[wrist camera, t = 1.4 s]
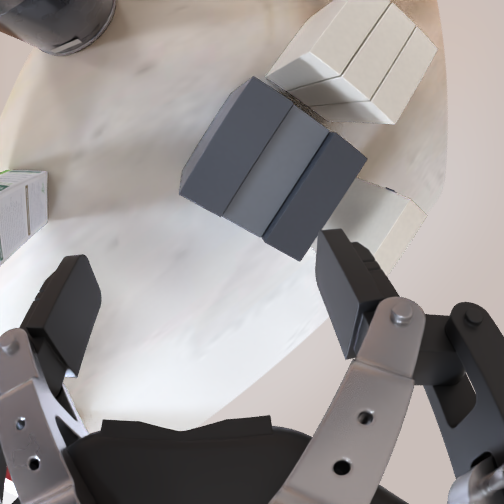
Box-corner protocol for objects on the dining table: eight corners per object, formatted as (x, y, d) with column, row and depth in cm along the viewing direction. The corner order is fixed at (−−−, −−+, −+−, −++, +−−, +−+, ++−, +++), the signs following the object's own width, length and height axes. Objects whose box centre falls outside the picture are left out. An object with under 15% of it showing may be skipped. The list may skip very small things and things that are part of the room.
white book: (300, 236, 35) (349, 288, 24) (343, 171, 33) (410, 197, 22) (318, 247, 36) (370, 300, 25) (359, 184, 34) (428, 214, 23)
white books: (264, 77, 28) (308, 51, 17) (308, 18, 26) (365, -23, 15) (328, 121, 30) (395, 125, 20) (366, 63, 28) (439, 48, 18)
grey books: (181, 171, 30) (178, 195, 19) (230, 93, 28) (254, 74, 17) (264, 218, 33) (300, 262, 23) (311, 146, 31) (368, 158, 21)
